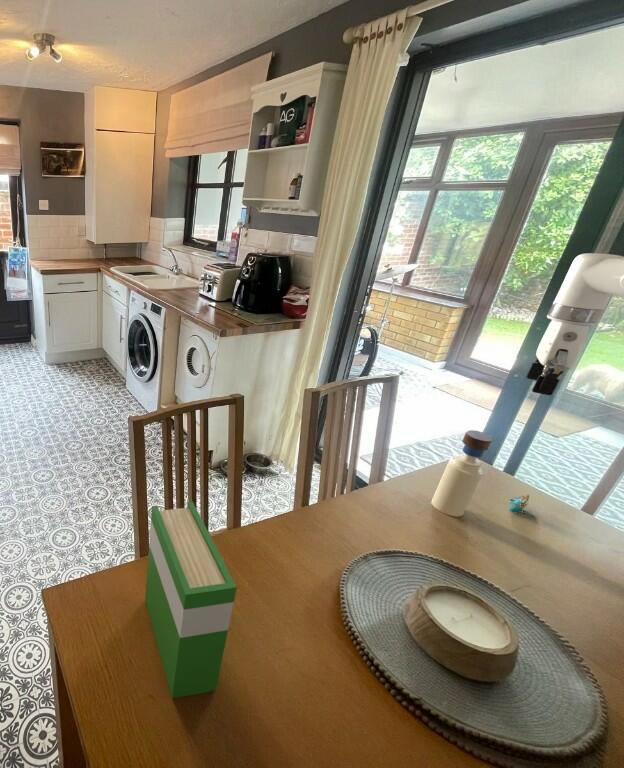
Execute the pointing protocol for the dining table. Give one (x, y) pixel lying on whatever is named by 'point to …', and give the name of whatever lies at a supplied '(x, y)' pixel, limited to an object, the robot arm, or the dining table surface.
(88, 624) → the dining table surface
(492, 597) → the dining table surface
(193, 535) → the hardback book
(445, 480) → the bottle
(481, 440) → the chip
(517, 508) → the dragon figurine
